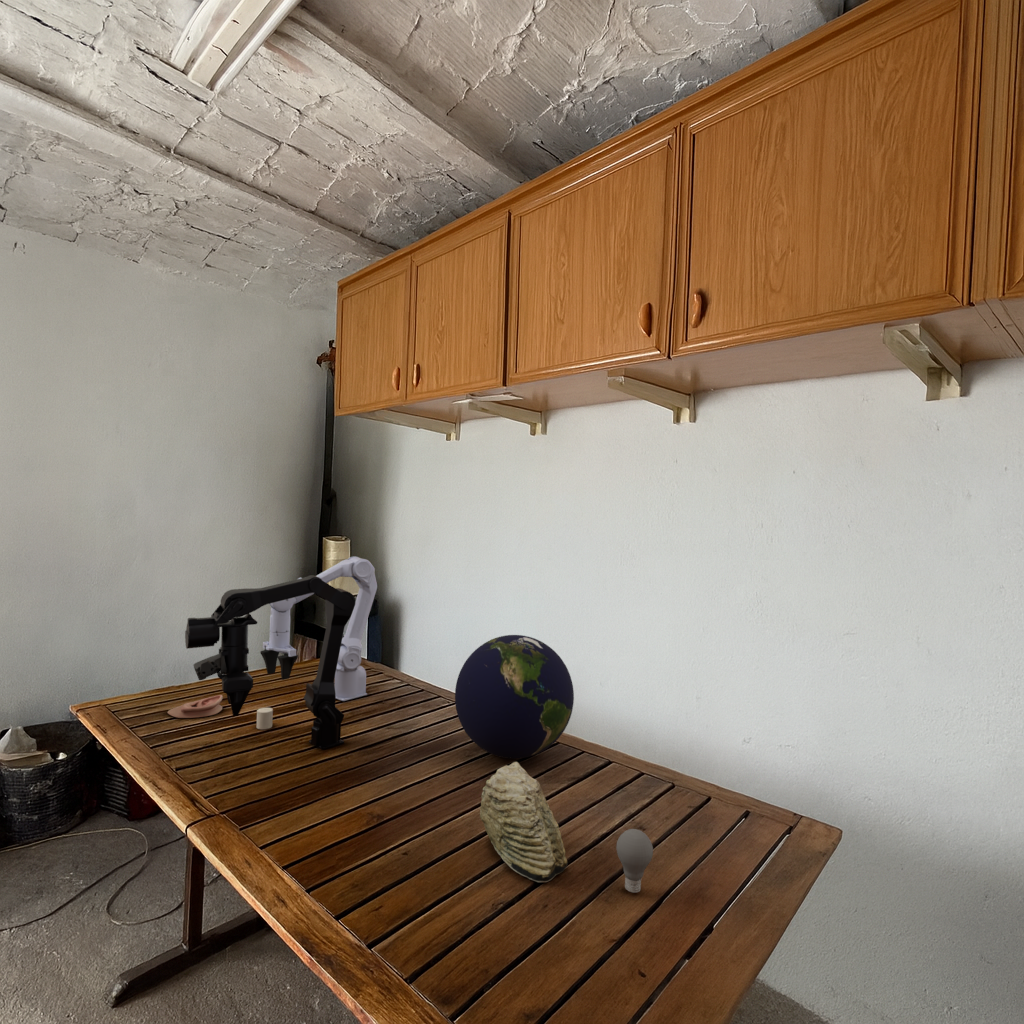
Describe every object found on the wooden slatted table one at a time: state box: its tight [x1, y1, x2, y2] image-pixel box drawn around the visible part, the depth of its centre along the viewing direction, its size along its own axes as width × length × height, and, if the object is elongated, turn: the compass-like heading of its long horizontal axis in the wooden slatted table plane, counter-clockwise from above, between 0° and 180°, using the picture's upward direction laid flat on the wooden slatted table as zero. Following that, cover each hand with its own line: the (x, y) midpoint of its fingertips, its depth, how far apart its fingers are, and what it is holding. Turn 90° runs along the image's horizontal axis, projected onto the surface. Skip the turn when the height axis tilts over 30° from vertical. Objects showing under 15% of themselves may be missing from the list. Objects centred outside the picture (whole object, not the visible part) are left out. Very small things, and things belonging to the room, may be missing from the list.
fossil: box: [479, 761, 569, 883], centre depth 114 cm, size 9×18×15 cm, turn 46°
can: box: [256, 707, 274, 730], centre depth 172 cm, size 4×4×5 cm
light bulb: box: [615, 828, 654, 894], centre depth 106 cm, size 6×6×10 cm
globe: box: [454, 634, 575, 760], centre depth 160 cm, size 30×30×30 cm
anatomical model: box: [167, 694, 224, 719], centre depth 180 cm, size 13×4×12 cm
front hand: (233, 709), depth 150 cm, fingers open, 9 cm apart
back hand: (278, 676), depth 189 cm, fingers open, 7 cm apart
